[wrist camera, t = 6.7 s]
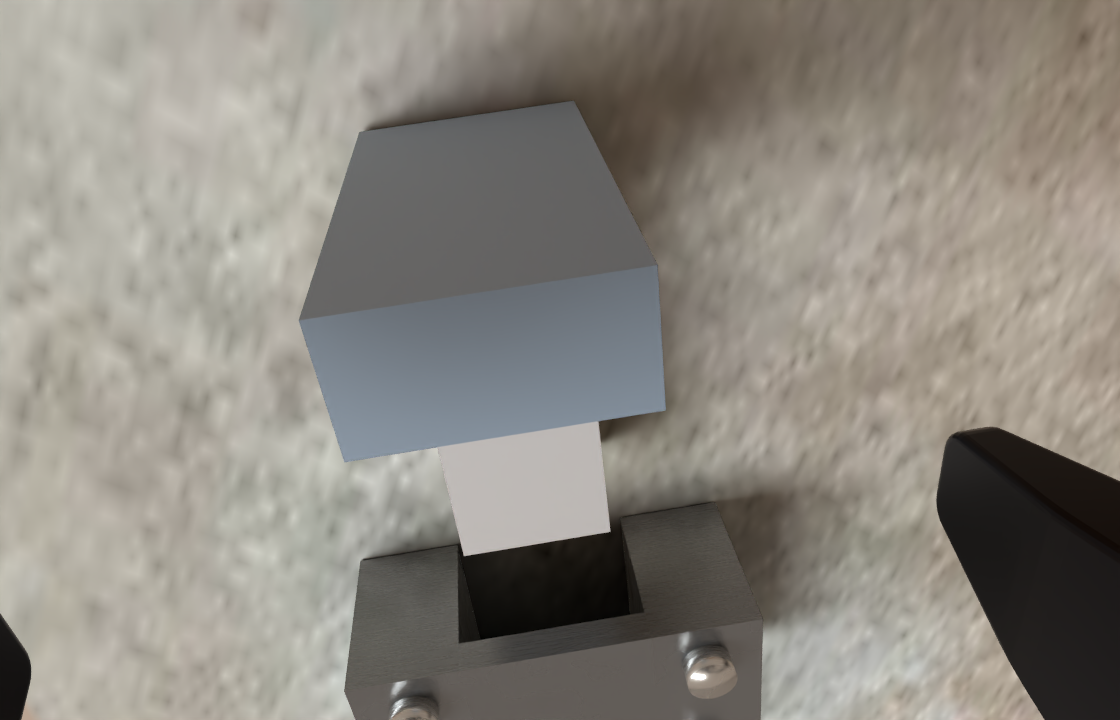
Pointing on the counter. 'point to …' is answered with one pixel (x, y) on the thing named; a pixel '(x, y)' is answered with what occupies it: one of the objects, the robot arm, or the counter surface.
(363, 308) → the handle
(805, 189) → the counter surface
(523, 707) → the housing
